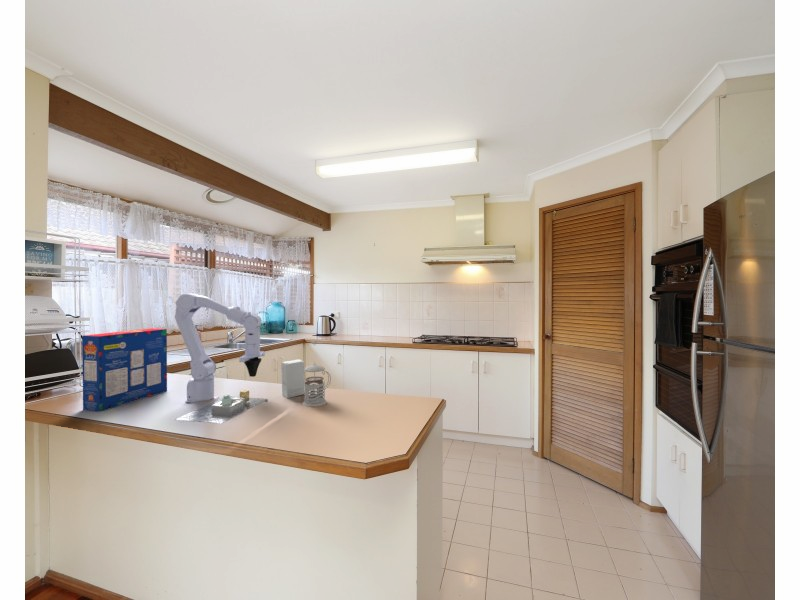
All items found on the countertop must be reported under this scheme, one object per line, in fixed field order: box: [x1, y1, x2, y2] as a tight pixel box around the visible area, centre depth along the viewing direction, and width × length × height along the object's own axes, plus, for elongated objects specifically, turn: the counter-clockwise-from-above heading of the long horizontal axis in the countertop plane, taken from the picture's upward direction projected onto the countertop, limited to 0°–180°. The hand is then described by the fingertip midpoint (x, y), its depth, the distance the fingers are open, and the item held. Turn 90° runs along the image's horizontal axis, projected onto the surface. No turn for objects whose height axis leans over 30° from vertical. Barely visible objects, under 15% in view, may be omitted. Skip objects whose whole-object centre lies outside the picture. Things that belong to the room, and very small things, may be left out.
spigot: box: [221, 394, 231, 405], centre depth 124 cm, size 3×3×6 cm
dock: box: [174, 396, 268, 424], centre depth 128 cm, size 18×27×4 cm, turn 170°
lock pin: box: [231, 389, 250, 404], centre depth 131 cm, size 2×10×4 cm, turn 169°
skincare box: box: [281, 358, 305, 399], centre depth 148 cm, size 8×6×15 cm
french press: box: [301, 340, 332, 407], centre depth 139 cm, size 10×12×25 cm
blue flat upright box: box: [81, 327, 168, 413], centre depth 141 cm, size 28×8×28 cm, turn 167°
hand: (252, 376), depth 143 cm, fingers closed
